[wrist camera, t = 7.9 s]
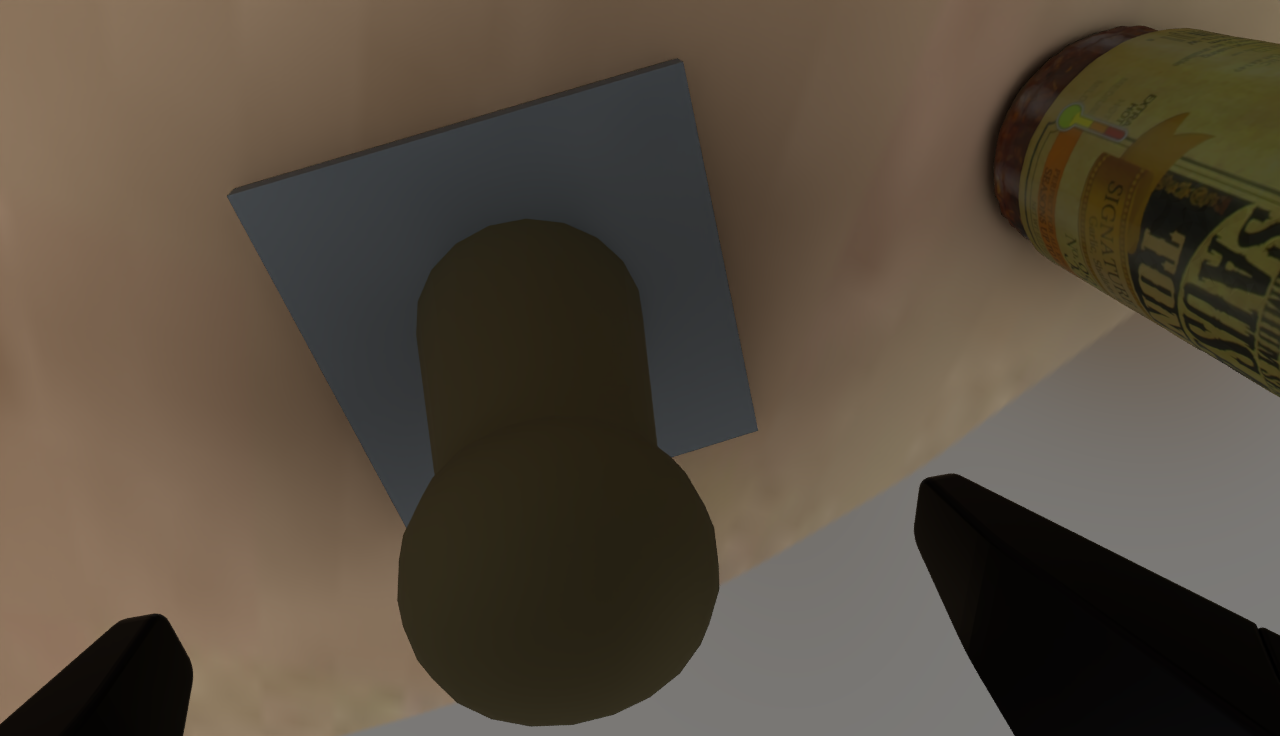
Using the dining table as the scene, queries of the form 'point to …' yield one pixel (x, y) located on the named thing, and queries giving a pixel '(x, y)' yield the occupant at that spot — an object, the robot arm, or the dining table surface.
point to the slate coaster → (493, 194)
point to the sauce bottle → (1158, 182)
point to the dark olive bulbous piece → (548, 488)
